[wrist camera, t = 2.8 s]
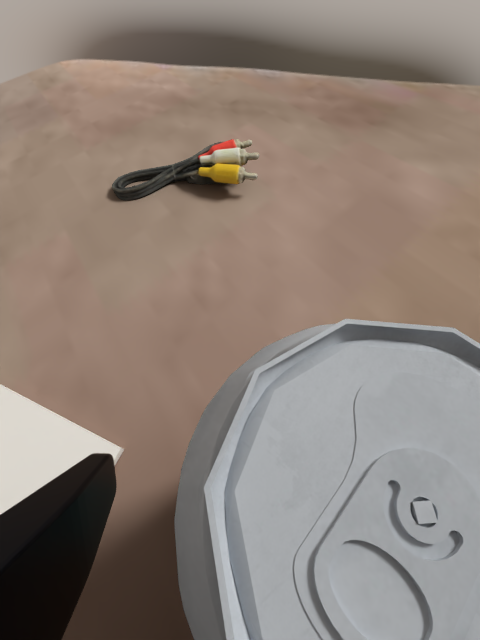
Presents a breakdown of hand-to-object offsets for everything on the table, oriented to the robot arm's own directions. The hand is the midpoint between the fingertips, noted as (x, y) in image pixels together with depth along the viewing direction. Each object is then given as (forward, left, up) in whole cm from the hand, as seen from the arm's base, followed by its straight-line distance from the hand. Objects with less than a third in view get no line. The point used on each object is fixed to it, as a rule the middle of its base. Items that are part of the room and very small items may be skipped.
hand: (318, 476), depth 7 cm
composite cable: (+15, +13, -8) cm, 22 cm away
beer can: (-1, 0, -8) cm, 8 cm away
